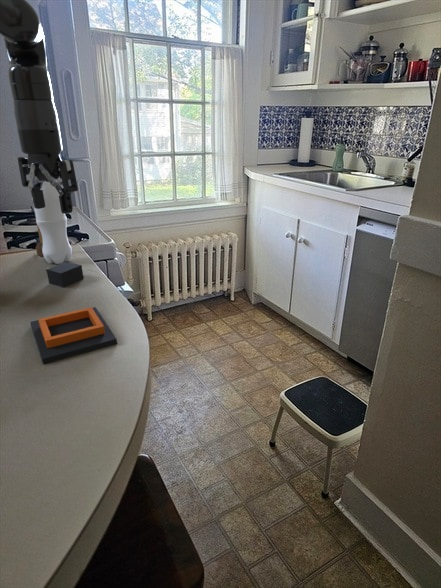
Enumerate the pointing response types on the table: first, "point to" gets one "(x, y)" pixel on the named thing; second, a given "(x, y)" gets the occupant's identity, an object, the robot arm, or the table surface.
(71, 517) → the table surface
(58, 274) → the dark gray block
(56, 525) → the table surface
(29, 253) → the table surface
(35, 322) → the base pad
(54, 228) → the water bottle
